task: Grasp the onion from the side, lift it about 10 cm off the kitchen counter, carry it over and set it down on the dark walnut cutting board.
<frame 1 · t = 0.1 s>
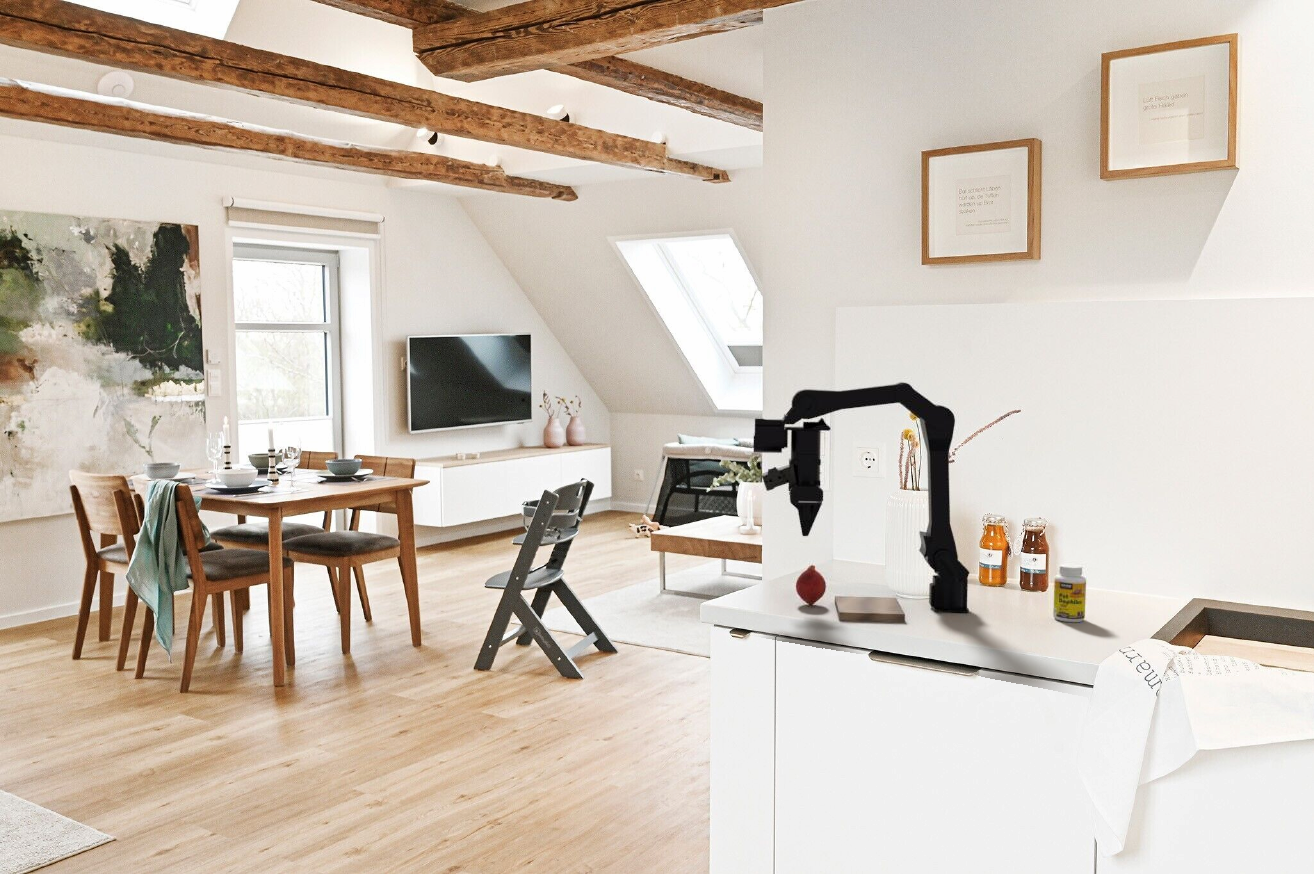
hand: (804, 532, 213), 14 cm above the table, fingers open, 9 cm apart
supplement bottle: (1068, 620, 203), on the table
walnut board: (868, 612, 207), on the table
onion: (810, 606, 214), on the table
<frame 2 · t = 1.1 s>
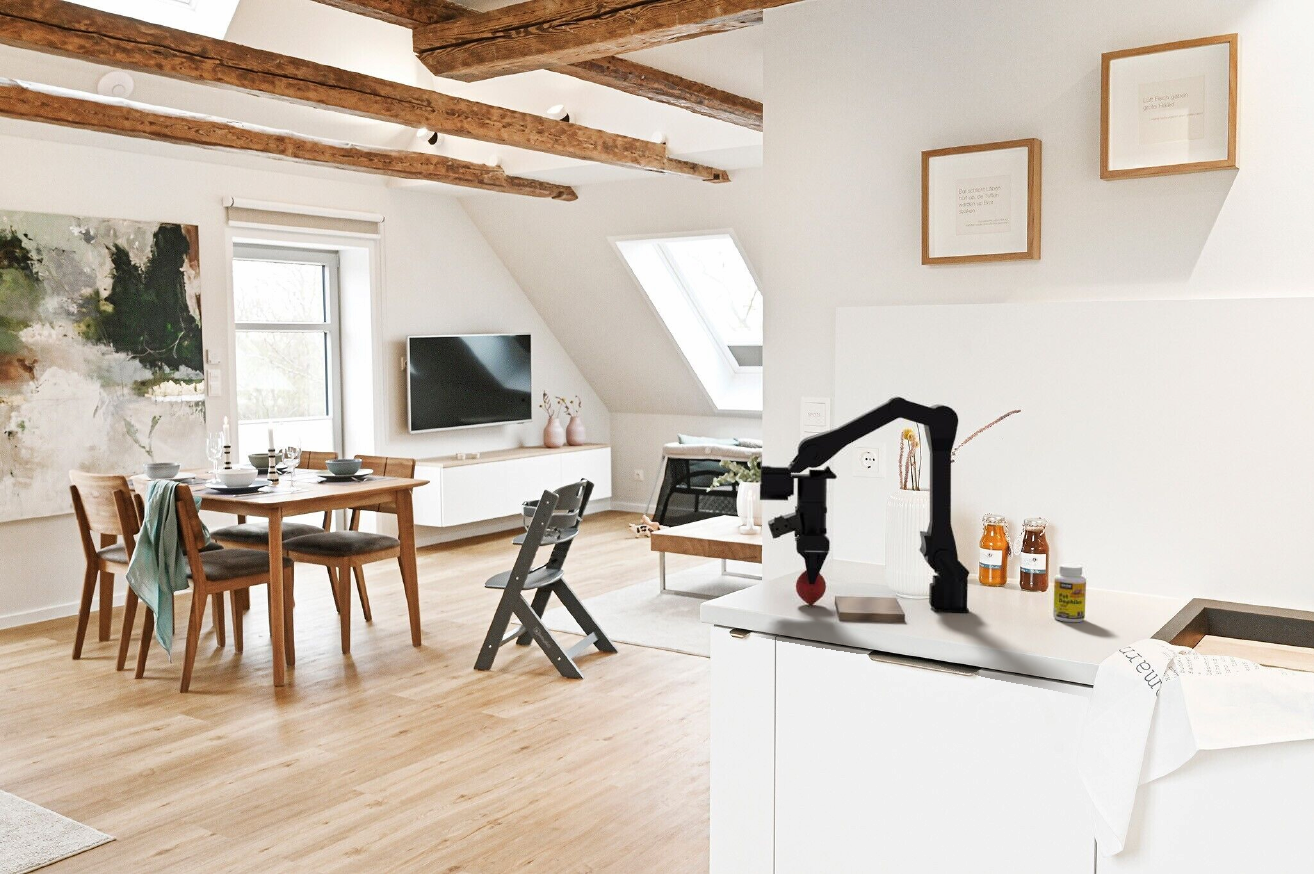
hand: (810, 579, 213), 5 cm above the table, fingers open, 9 cm apart
nothing on the table moved.
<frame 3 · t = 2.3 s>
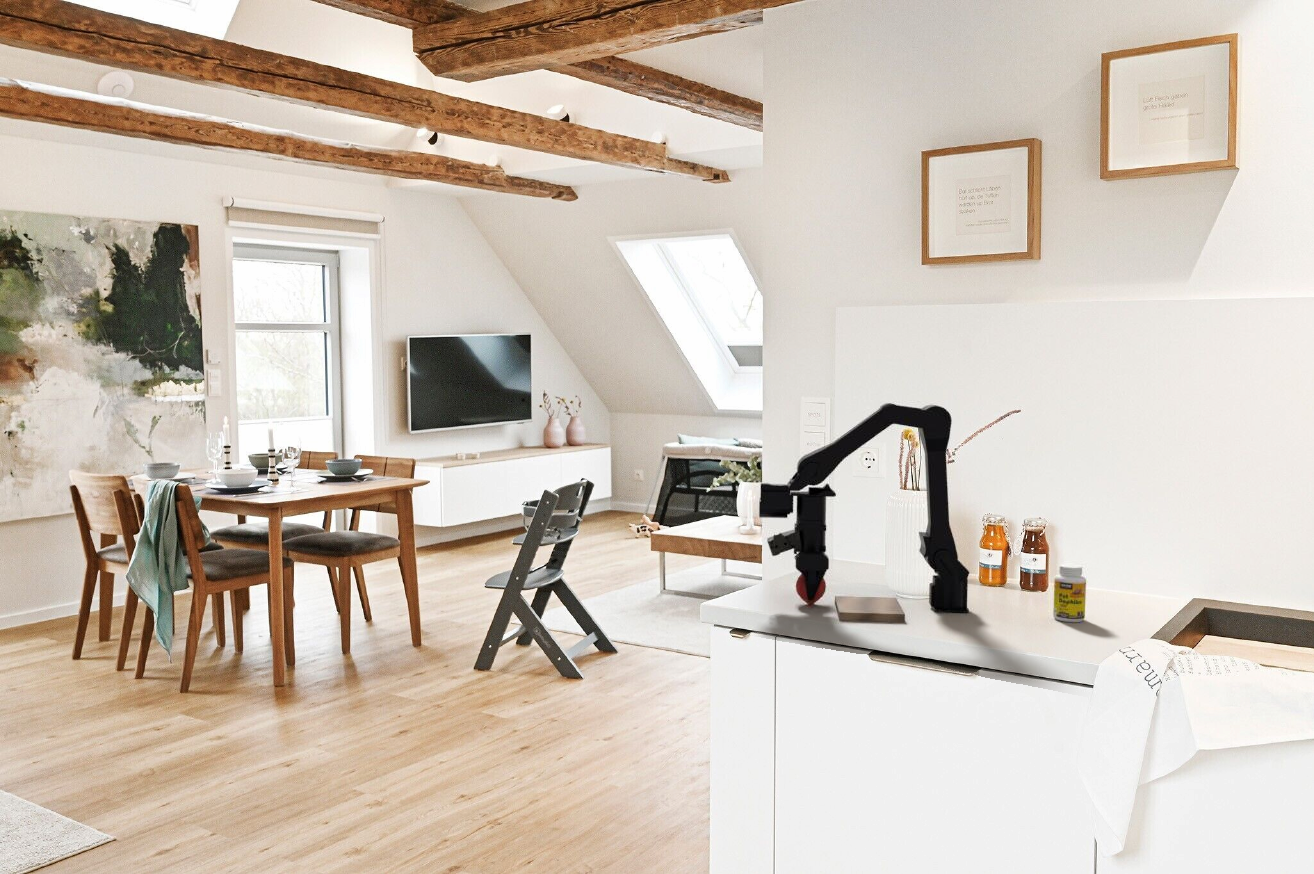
hand: (809, 596, 213), 2 cm above the table, fingers closed on onion, 6 cm apart
onion: (810, 606, 214), on the table, touching gripper
everything else where it was.
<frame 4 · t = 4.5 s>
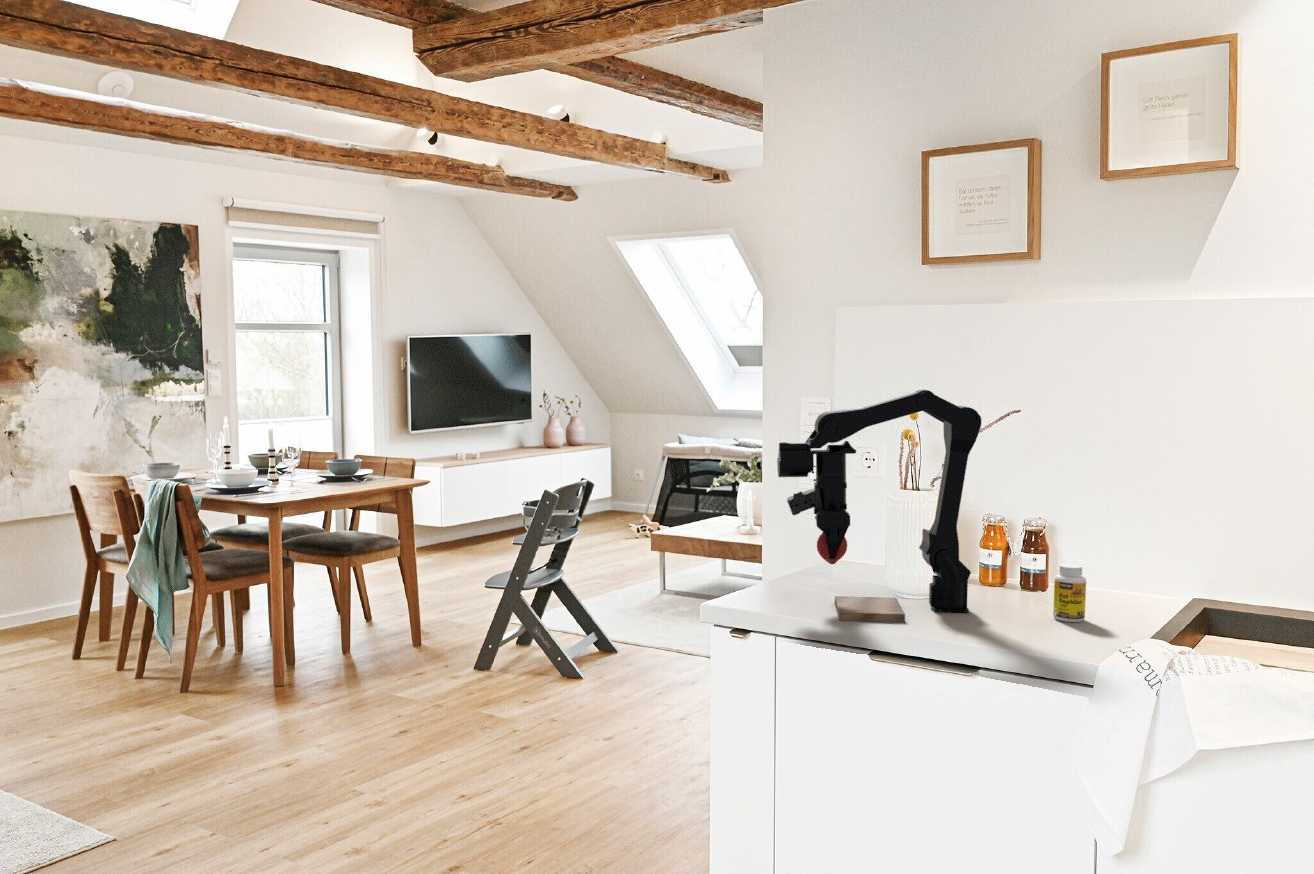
hand: (831, 556, 211), 10 cm above the table, fingers closed on onion, 6 cm apart
onion: (832, 565, 211), point 8 cm above the table, touching gripper
everything else where it was.
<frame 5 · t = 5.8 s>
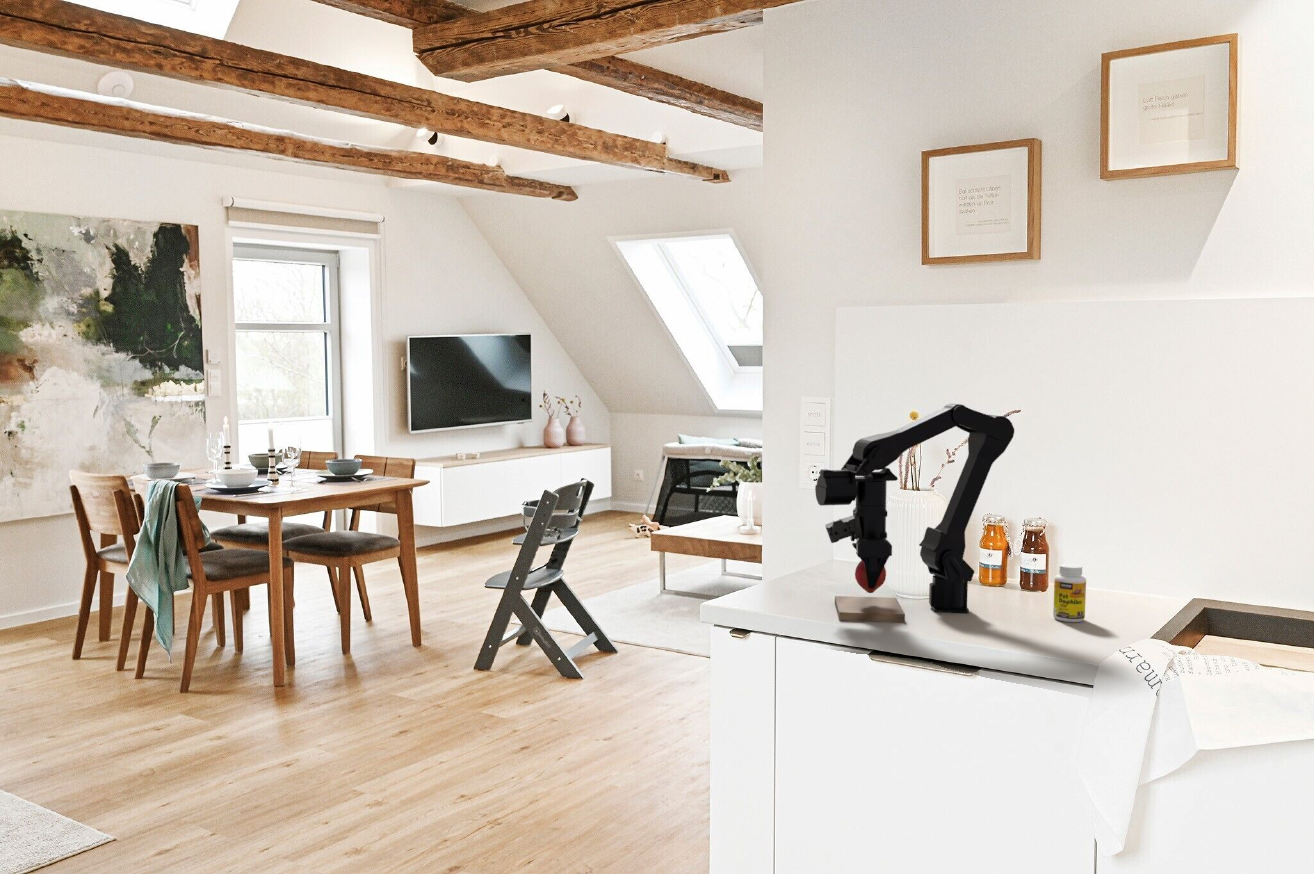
hand: (869, 584, 207), 5 cm above the table, fingers closed on onion, 6 cm apart
onion: (870, 594, 207), point 4 cm above the table, touching gripper
everything else where it was.
when the fingers open (5 cm above the table, at t = 6.8 s): onion drops 1 cm, resting on walnut board.
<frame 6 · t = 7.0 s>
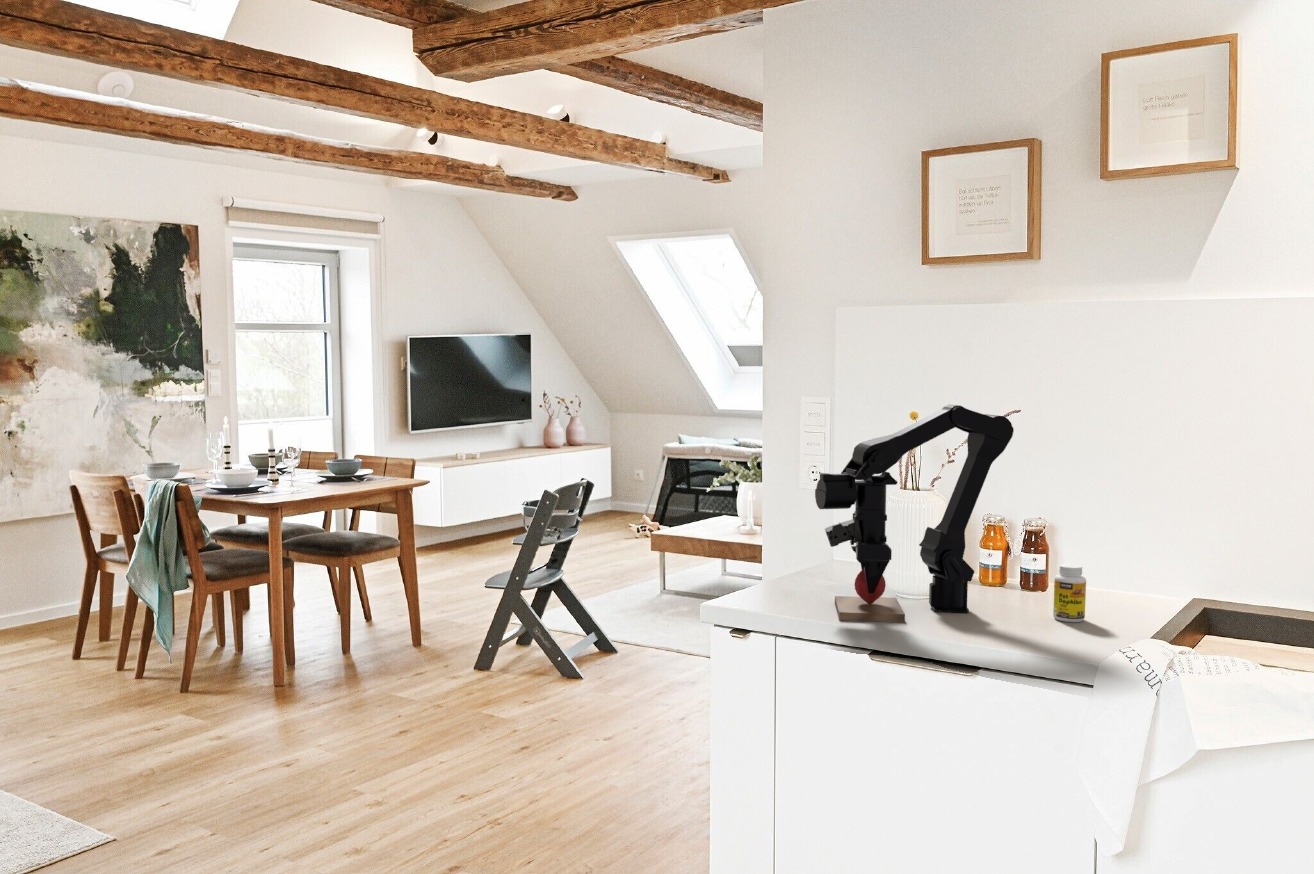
hand: (869, 588, 207), 5 cm above the table, fingers open, 8 cm apart
onion: (869, 604, 208), point 1 cm above the table, touching walnut board
everything else where it was.
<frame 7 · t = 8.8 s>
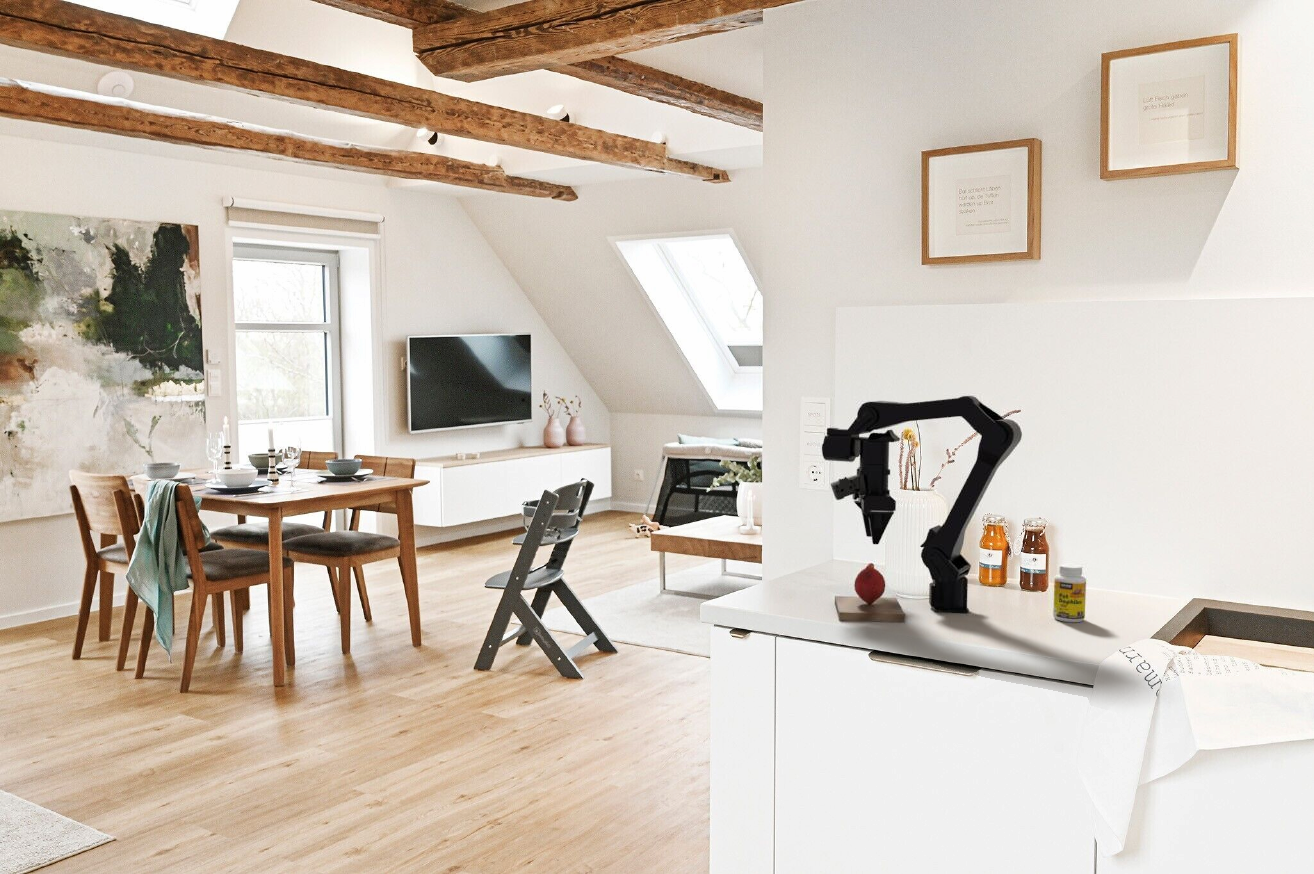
hand: (872, 540, 218), 12 cm above the table, fingers open, 9 cm apart
nothing on the table moved.
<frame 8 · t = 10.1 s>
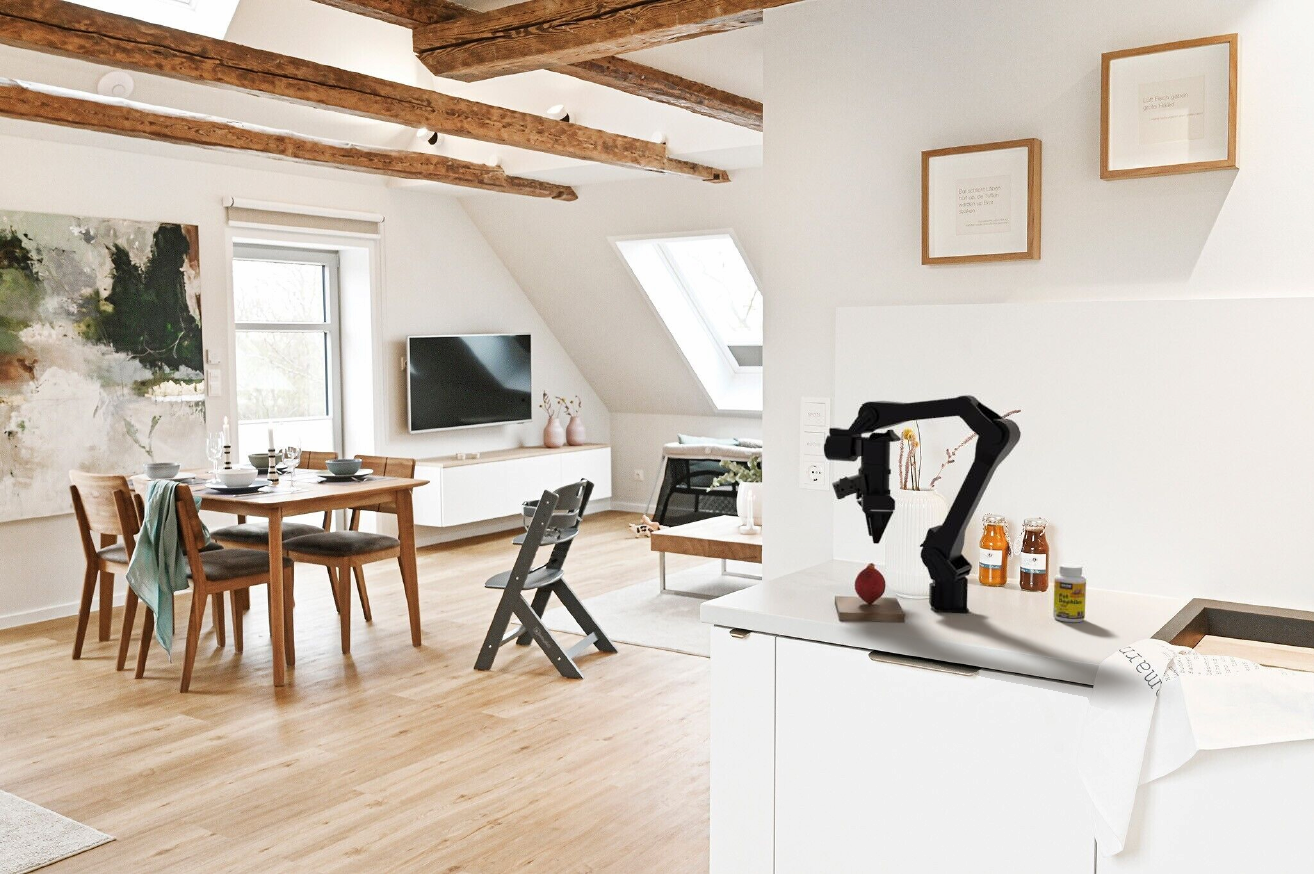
hand: (873, 539, 219), 12 cm above the table, fingers open, 9 cm apart
nothing on the table moved.
at the end: onion inside the target area on the walnut board (0.4 cm from its centre), point 1.3 cm above the walnut board's base; onion touching walnut board; the gripper is holding nothing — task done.
